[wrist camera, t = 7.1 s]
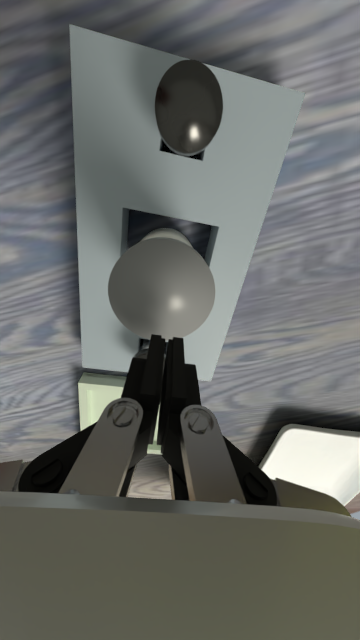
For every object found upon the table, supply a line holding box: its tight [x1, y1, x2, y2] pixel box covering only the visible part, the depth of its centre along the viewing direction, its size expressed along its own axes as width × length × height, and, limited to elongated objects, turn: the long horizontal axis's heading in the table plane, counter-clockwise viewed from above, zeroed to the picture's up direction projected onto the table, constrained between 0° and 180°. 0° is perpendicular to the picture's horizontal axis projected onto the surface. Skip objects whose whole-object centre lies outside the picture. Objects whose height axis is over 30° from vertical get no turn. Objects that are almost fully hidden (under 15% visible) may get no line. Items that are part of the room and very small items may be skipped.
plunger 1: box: [133, 339, 166, 370], centre depth 22 cm, size 4×4×6 cm
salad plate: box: [258, 424, 360, 506], centre depth 36 cm, size 21×21×3 cm
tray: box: [78, 372, 161, 454], centre depth 29 cm, size 13×13×2 cm
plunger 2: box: [155, 60, 223, 157], centre depth 14 cm, size 4×4×6 cm
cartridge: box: [108, 228, 215, 341], centre depth 16 cm, size 6×6×10 cm
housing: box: [69, 24, 305, 381], centre depth 19 cm, size 14×24×3 cm, turn 170°
